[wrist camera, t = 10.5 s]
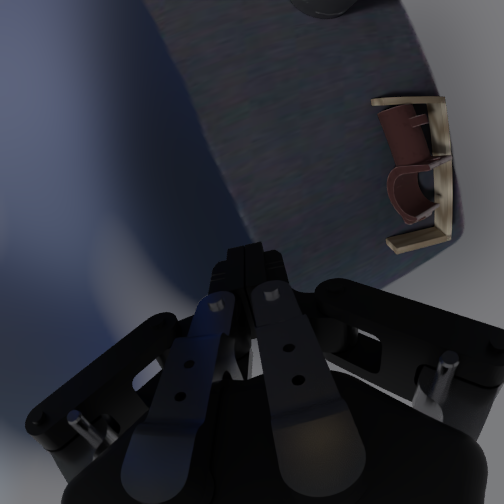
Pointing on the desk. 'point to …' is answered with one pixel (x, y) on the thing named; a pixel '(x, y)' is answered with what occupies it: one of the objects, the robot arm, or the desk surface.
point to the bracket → (408, 161)
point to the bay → (441, 176)
